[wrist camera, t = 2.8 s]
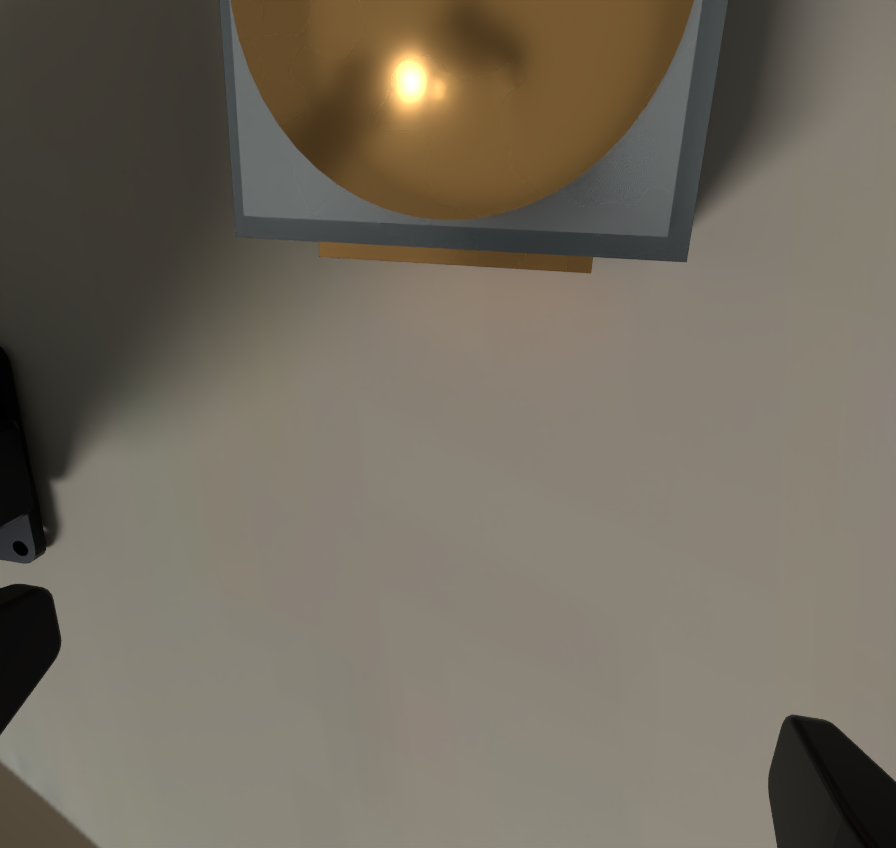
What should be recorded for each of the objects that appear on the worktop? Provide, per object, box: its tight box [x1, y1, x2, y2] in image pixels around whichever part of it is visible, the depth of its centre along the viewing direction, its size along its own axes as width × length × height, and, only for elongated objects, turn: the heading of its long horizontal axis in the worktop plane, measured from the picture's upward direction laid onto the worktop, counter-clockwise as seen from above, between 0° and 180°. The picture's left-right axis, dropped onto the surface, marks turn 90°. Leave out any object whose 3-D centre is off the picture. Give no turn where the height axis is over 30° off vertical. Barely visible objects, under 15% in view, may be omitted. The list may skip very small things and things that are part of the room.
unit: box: [219, 0, 728, 273], centre depth 11 cm, size 8×8×3 cm
